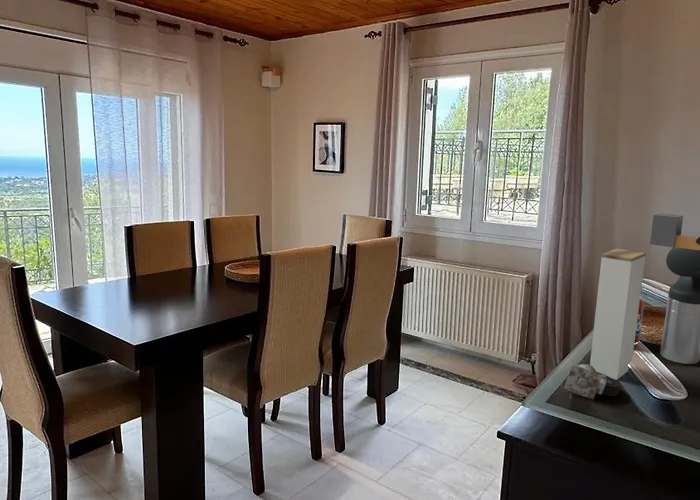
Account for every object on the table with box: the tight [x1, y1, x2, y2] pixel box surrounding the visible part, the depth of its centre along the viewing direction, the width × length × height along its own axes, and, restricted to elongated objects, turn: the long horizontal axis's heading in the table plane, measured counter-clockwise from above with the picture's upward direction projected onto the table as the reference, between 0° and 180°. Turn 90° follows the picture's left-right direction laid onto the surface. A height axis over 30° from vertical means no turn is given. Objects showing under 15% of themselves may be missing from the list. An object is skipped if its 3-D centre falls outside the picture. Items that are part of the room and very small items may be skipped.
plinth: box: [589, 248, 647, 381], centre depth 130 cm, size 7×10×32 cm
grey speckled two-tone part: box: [564, 363, 622, 400], centre depth 122 cm, size 7×11×10 cm
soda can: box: [634, 295, 645, 343], centre depth 149 cm, size 8×8×15 cm
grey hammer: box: [649, 212, 700, 250], centre depth 113 cm, size 15×4×7 cm, turn 41°
